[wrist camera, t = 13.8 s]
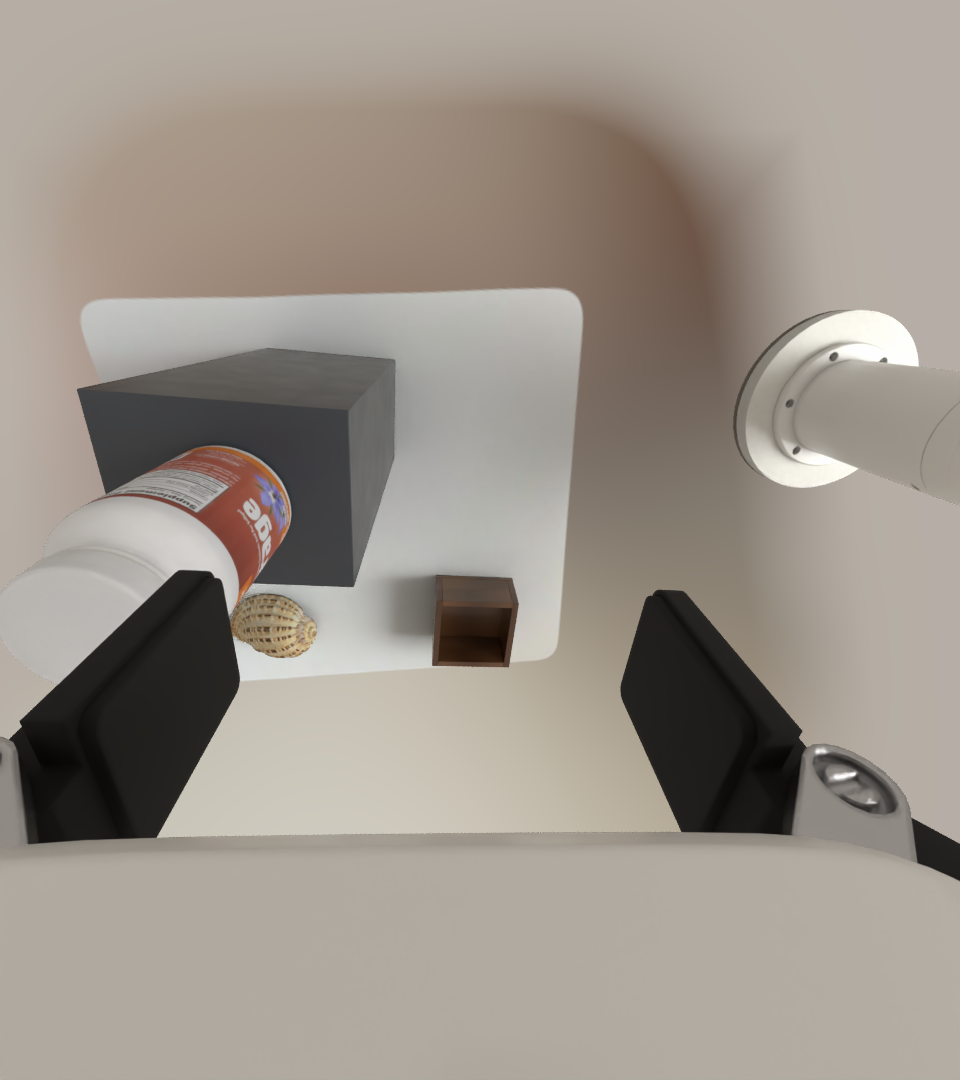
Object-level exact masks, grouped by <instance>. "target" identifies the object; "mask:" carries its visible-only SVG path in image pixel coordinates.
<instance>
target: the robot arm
mask: <svg viewBox="0 0 960 1080" xmlns="http://www.w3.org/2000/svg"><path fill="white" fill-rule="evenodd" d="M773 431H774V437H775V440H776V442H777V444H778V446H779V448H780V449H781V450H782V452H783V453H784V454H785V455H787V456H788V457H789V458H791V459H793V460H795V461H797V462H799V463H803V464H806V465H813V466H821V465H829V464H832V463H836V462H839V461H840V462H843V463H845V464H848V465H851V466H853V467H856V468H859V469H861V470H864V471H867V472H869V473H872V474H875V475H878V476H880V477H883V478H886V479H888V480H891V481H893V482H896V483H899V484H902V485H904V486H907V487H909V488H912V489H915V490H917V491H920V492H923V493H925V494H928V495H931V496H933V497H936V498H939V499H942V500H945V501H948V502H950V503H953V504H956V505H959V506H960V371H953V370H944V369H936V368H927V367H919V366H910V365H901V364H894V362H893V360H892V358H891V357H890V356H889V355H888V354H887V353H886V352H885V351H884V350H883V349H881V348H879V347H877V346H876V345H872V344H868V343H860V342H849V343H841V344H837V345H834V346H831V347H828V348H826V349H824V350H822V351H820V352H818V353H817V354H815V355H814V356H813V357H811V358H810V359H808V360H807V361H806V362H805V363H804V364H803V365H801V366H800V367H799V368H798V369H797V370H796V371H795V373H794V374H793V375H792V376H791V378H790V379H789V380H788V381H787V383H786V385H785V386H784V388H783V390H782V392H781V394H780V396H779V398H778V401H777V403H776V407H775V411H774V415H773ZM239 682H240V675H239V669H238V664H237V658H236V653H235V647H234V642H233V636H232V631H231V625H230V620H229V614H228V609H227V603H226V598H225V593H224V587H223V583H222V581H221V579H219V578H214V575H213V574H212V572H210V571H198V570H178V571H177V572H175V573H174V574H173V575H172V576H171V577H170V578H169V579H168V580H167V581H166V582H165V583H164V584H163V585H162V586H161V587H160V588H159V589H158V590H156V591H155V592H154V593H153V594H152V595H151V596H150V597H149V598H148V599H147V600H146V601H145V602H144V603H143V604H142V605H141V606H140V607H139V608H138V609H137V610H136V611H134V612H133V613H132V614H131V615H130V616H129V617H128V618H127V619H126V620H125V621H124V622H123V623H122V624H121V625H120V626H119V627H118V628H117V629H116V630H115V631H114V632H113V633H111V634H110V635H109V636H108V637H107V638H106V639H105V640H104V641H103V642H102V643H101V644H100V645H99V646H98V647H97V648H96V649H95V650H94V651H93V652H92V653H91V654H90V655H88V656H87V657H86V658H85V659H84V660H83V661H82V662H81V663H80V664H79V665H78V666H77V667H76V668H75V669H74V670H73V671H72V672H71V673H70V674H69V675H68V676H67V677H65V678H64V679H63V680H62V681H61V682H60V683H59V684H58V685H57V686H56V687H55V688H54V689H53V690H52V691H51V692H50V693H49V694H48V695H47V696H46V697H45V698H44V699H43V700H41V701H40V702H39V703H38V704H37V705H36V706H35V707H34V708H33V709H32V710H31V711H30V712H29V713H28V714H27V715H26V716H25V717H24V718H23V719H22V720H20V724H21V725H22V727H21V728H20V729H19V730H18V731H17V732H16V733H15V734H14V735H13V736H12V737H11V738H10V739H9V740H8V739H6V738H4V737H0V1080H960V844H959V843H957V842H955V841H954V840H952V839H950V838H948V837H946V836H944V835H942V834H940V833H939V832H937V831H935V830H933V829H931V828H929V827H928V826H926V825H924V824H922V823H920V822H918V821H917V820H915V819H913V818H911V812H910V807H909V804H908V802H907V799H906V797H905V795H904V793H903V792H902V791H901V789H900V788H899V786H898V785H897V784H896V783H895V782H894V781H893V780H892V779H891V778H890V777H889V776H888V775H887V774H886V773H885V772H884V771H882V770H881V769H880V768H878V767H877V766H876V765H874V764H873V763H871V762H870V761H868V760H867V759H865V758H863V757H861V756H859V755H857V754H856V753H854V752H851V751H849V750H846V749H844V748H841V747H838V746H834V745H828V744H814V745H811V746H809V747H806V746H805V745H804V744H803V742H802V741H801V740H800V739H799V736H800V734H801V733H802V730H801V729H800V728H799V726H798V725H797V724H796V723H795V722H794V721H793V719H792V718H791V717H790V716H789V715H788V713H787V712H786V711H785V710H784V709H783V708H782V707H781V705H780V704H779V703H778V702H777V700H776V699H775V698H774V697H773V696H772V695H771V693H770V692H769V691H768V690H767V689H766V687H765V686H764V685H763V684H762V683H761V682H760V680H759V679H758V678H757V677H756V676H755V674H754V673H753V672H752V671H751V670H750V669H749V667H748V666H747V665H746V664H745V663H744V661H743V660H742V659H741V658H740V657H739V656H738V654H737V653H736V652H735V651H734V650H733V648H732V647H731V646H730V645H729V644H728V643H727V641H726V640H725V639H724V638H723V637H722V635H721V634H720V633H719V632H718V631H717V630H716V628H715V627H714V626H713V625H712V624H711V622H710V621H709V620H708V619H707V618H706V617H705V616H704V614H703V613H702V612H701V611H700V609H699V608H698V607H697V606H696V605H695V604H694V602H693V601H692V600H691V599H690V598H689V597H688V595H687V594H686V593H684V592H683V591H675V590H657V591H655V592H654V594H653V596H648V597H647V598H646V600H645V603H644V606H643V610H642V613H641V617H640V620H639V624H638V627H637V631H636V634H635V637H634V641H633V645H632V648H631V651H630V655H629V659H628V662H627V665H626V669H625V672H624V675H623V680H622V682H621V697H622V700H623V703H624V705H625V707H626V709H627V712H628V714H629V716H630V718H631V720H632V723H633V725H634V727H635V730H636V732H637V734H638V736H639V738H640V741H641V743H642V745H643V747H644V750H645V752H646V754H647V756H648V758H649V761H650V763H651V765H652V767H653V769H654V772H655V774H656V776H657V779H658V780H659V783H660V785H661V787H662V790H663V792H664V794H665V796H666V799H667V801H668V803H669V805H670V807H671V809H672V812H673V814H674V816H675V819H676V820H677V823H678V825H679V828H680V830H681V832H600V833H599V832H598V833H597V832H591V833H589V832H583V833H581V832H580V833H579V832H577V833H576V832H573V833H572V832H569V833H567V832H566V833H436V834H435V833H433V834H343V835H279V836H278V835H277V836H217V837H216V836H212V837H169V838H157V836H158V834H159V832H160V830H161V829H162V827H163V825H164V823H165V821H166V820H167V818H168V816H169V814H170V812H171V811H172V809H173V807H174V805H175V803H176V801H177V800H178V798H179V796H180V794H181V792H182V791H183V789H184V787H185V785H186V783H187V782H188V780H189V778H190V776H191V774H192V773H193V771H194V769H195V767H196V765H197V764H198V762H199V760H200V758H201V756H202V755H203V753H204V751H205V749H206V747H207V746H208V744H209V742H210V740H211V738H212V737H213V735H214V733H215V731H216V729H217V728H218V726H219V724H220V722H221V720H222V718H223V717H224V715H225V713H226V711H227V709H228V708H229V706H230V704H231V702H232V700H233V699H234V697H235V695H236V693H237V691H238V688H239Z"/></svg>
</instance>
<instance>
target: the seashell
mask: <svg viewBox="0 0 960 1080" xmlns="http://www.w3.org/2000/svg"><path fill="white" fill-rule="evenodd" d="M237 608H238V610H237V611H236V612H235V613H234V614H233V617H232V619H231V622H230V625H231V631H232V635H233V636H235V637H237V638H238V640H241V641H242V642H246V643H249V644H250V645H251V646H252V647H253V648H254V649H255V650H256V651H258V652H263V653H265V654H266V655H268V656H271V657H275V658H286V657H297V656H300V655H301V654H302V653H303V652H305V651H307V650H308V649H309V648H310V644H312V643H313V642H312V641H313V640H315V635H316V633H317V631H316V628H317V626H316V625H315V622H314V621H313V620H312V619H311V618H309V617H308V616H305V615H304V613H303V610H302V608H301V607H300V606H299V605H297V604H296V603H295V602H293V601H292V600H290V599H288V598H286V597H282V596H278V595H258V596H254V597H251V598H249V599H247V600H245V601H243V602H242V603H241V604H240V605H239V606H238V607H237Z"/></svg>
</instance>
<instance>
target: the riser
mask: <svg viewBox="0 0 960 1080" xmlns="http://www.w3.org/2000/svg"><path fill="white" fill-rule="evenodd" d="M77 391H78V395H79V398H80V402H81V406H82V409H83V413H84V417H85V420H86V424H87V427H88V431H89V435H90V438H91V442H92V445H93V449H94V453H95V456H96V460H97V463H98V467H99V471H100V474H101V478H102V482H103V485H104V489H105V492H106V494H108V493H110V492H111V491H113V490H115V489H117V488H119V487H121V486H123V485H125V484H127V483H128V482H130V481H132V480H134V479H135V478H137V477H139V476H141V475H143V474H145V473H147V472H149V471H151V470H153V469H155V468H157V467H158V466H160V465H162V464H164V463H166V462H168V461H170V460H172V459H173V458H175V457H177V456H179V455H181V454H183V453H185V452H187V451H190V450H192V449H195V448H199V447H203V446H227V447H232V448H236V449H240V450H242V451H245V452H248V453H250V454H252V455H254V456H255V457H257V458H259V459H260V460H262V461H263V462H264V463H265V464H267V465H268V466H269V467H270V468H271V469H272V470H273V471H274V472H275V473H276V475H277V476H278V477H279V478H280V480H281V481H282V483H283V485H284V487H285V489H286V491H287V494H288V497H289V500H290V504H291V522H290V526H289V529H288V531H287V533H286V535H285V537H284V539H283V541H282V542H281V544H280V545H279V546H278V548H277V549H276V551H275V552H274V553H273V555H272V556H271V558H270V559H269V561H268V562H267V563H266V565H265V566H264V568H263V569H262V570H261V572H260V573H259V575H258V576H257V578H256V579H255V580H254V582H253V583H258V584H284V585H311V586H338V587H354V585H355V582H356V578H357V575H358V572H359V569H360V565H361V562H362V559H363V556H364V553H365V549H366V546H367V543H368V540H369V537H370V533H371V530H372V527H373V524H374V521H375V517H376V514H377V511H378V508H379V505H380V501H381V498H382V495H383V492H384V489H385V485H386V482H387V479H388V476H389V473H390V469H391V466H392V463H393V460H394V419H395V360H393V359H382V358H371V357H360V356H349V355H339V354H328V353H317V352H306V351H295V350H284V349H273V348H266V349H262V350H257V351H252V352H248V353H243V354H238V355H234V356H229V357H224V358H220V359H215V360H210V361H206V362H201V363H196V364H192V365H187V366H182V367H177V368H173V369H168V370H163V371H159V372H154V373H149V374H145V375H140V376H135V377H131V378H126V379H121V380H117V381H112V382H107V383H103V384H98V385H93V386H89V387H84V388H80V389H77Z"/></svg>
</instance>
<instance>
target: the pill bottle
mask: <svg viewBox="0 0 960 1080" xmlns="http://www.w3.org/2000/svg"><path fill="white" fill-rule="evenodd" d="M290 522H291V504H290V500H289V497H288V494H287V491H286V489H285V487H284V485H283V483H282V481H281V480H280V478H279V477H278V476H277V475H276V473H275V472H274V471H273V470H272V469H271V468H270V467H269V466H268V465H267V464H265V463H264V462H263V461H262V460H260V459H259V458H257V457H255V456H254V455H252V454H250V453H248V452H245V451H242V450H240V449H236V448H232V447H227V446H203V447H199V448H195V449H192V450H190V451H187V452H185V453H183V454H181V455H179V456H177V457H175V458H173V459H172V460H170V461H168V462H166V463H164V464H162V465H160V466H158V467H157V468H155V469H153V470H151V471H149V472H147V473H145V474H143V475H141V476H139V477H137V478H135V479H134V480H132V481H130V482H128V483H127V484H125V485H123V486H121V487H119V488H117V489H115V490H113V491H111V492H110V493H108V494H106V495H104V496H102V497H100V498H98V499H96V500H94V501H92V502H90V503H88V504H86V505H84V506H83V507H81V508H80V509H78V510H76V511H75V512H73V513H71V514H70V515H68V516H67V517H66V518H64V519H63V520H62V521H61V522H60V523H59V524H58V525H57V526H56V527H55V528H54V530H53V531H52V533H51V534H50V536H49V537H48V539H47V542H46V544H45V546H44V550H43V554H42V559H41V560H39V561H38V562H37V563H35V564H34V565H33V566H32V567H30V568H28V569H27V570H26V571H24V572H22V573H21V574H20V575H18V576H17V577H15V578H14V579H13V580H11V581H10V582H9V583H8V584H7V585H6V586H5V587H4V588H3V590H2V591H1V592H0V638H1V639H2V641H3V643H4V644H5V646H6V647H7V649H8V650H9V651H10V652H11V653H12V654H13V656H14V657H15V658H16V659H17V660H18V661H19V662H20V663H22V664H23V665H24V666H25V667H27V668H28V669H30V670H31V671H33V672H34V673H36V674H37V675H39V676H40V677H42V678H44V679H46V680H48V681H50V682H53V683H55V684H57V685H58V684H59V683H60V682H61V681H62V680H63V679H64V678H65V677H67V676H68V675H69V674H70V673H71V672H72V671H73V670H74V669H75V668H76V667H77V666H78V665H79V664H80V663H81V662H82V661H83V660H84V659H85V658H86V657H87V656H88V655H90V654H91V653H92V652H93V651H94V650H95V649H96V648H97V647H98V646H99V645H100V644H101V643H102V642H103V641H104V640H105V639H106V638H107V637H108V636H109V635H110V634H111V633H113V632H114V631H115V630H116V629H117V628H118V627H119V626H120V625H121V624H122V623H123V622H124V621H125V620H126V619H127V618H128V617H129V616H130V615H131V614H132V613H133V612H134V611H136V610H137V609H138V608H139V607H140V606H141V605H142V604H143V603H144V602H145V601H146V600H147V599H148V598H149V597H150V596H151V595H152V594H153V593H154V592H155V591H156V590H158V589H159V588H160V587H161V586H162V585H163V584H164V583H165V582H166V581H167V580H168V579H169V578H170V577H171V576H172V575H173V574H174V573H175V572H177V571H178V570H198V571H210V572H212V574H213V575H214V578H219V579H221V581H222V583H223V587H224V593H225V598H226V603H227V609H228V614H229V616H230V615H231V613H232V612H233V611H234V609H235V608H236V606H237V605H238V603H239V602H240V600H241V599H242V598H243V596H244V595H245V593H246V592H247V590H248V589H249V587H250V586H251V585H252V583H253V582H254V580H255V579H256V578H257V576H258V575H259V573H260V572H261V570H262V569H263V568H264V566H265V565H266V563H267V562H268V561H269V559H270V558H271V556H272V555H273V553H274V552H275V551H276V549H277V548H278V546H279V545H280V544H281V542H282V541H283V539H284V537H285V535H286V533H287V531H288V529H289V526H290Z"/></svg>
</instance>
